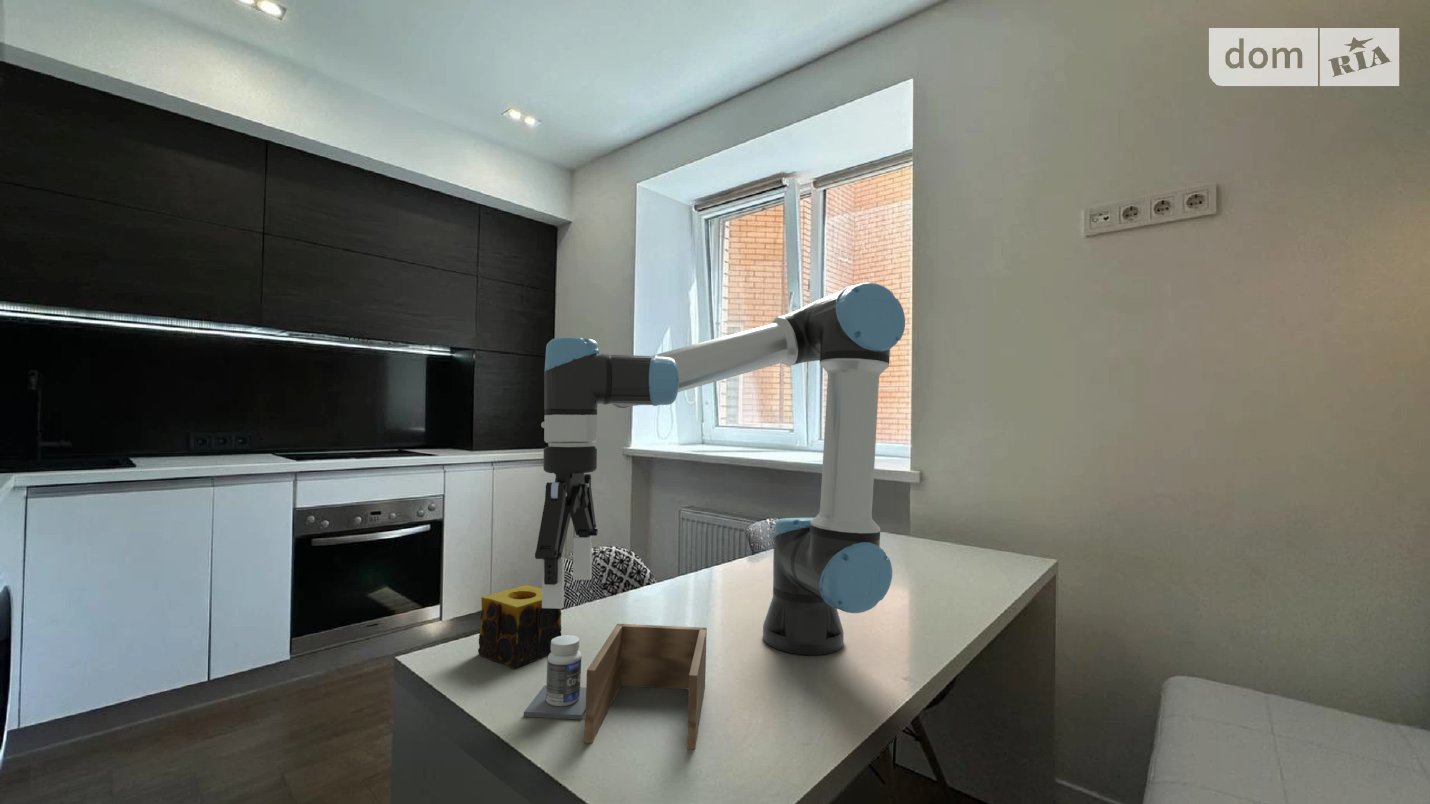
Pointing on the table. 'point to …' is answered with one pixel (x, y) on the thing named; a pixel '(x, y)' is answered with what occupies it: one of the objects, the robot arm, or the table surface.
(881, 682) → the table surface
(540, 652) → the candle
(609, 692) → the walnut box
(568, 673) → the pill bottle
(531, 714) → the slate coaster
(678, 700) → the table surface
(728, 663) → the table surface
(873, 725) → the table surface
